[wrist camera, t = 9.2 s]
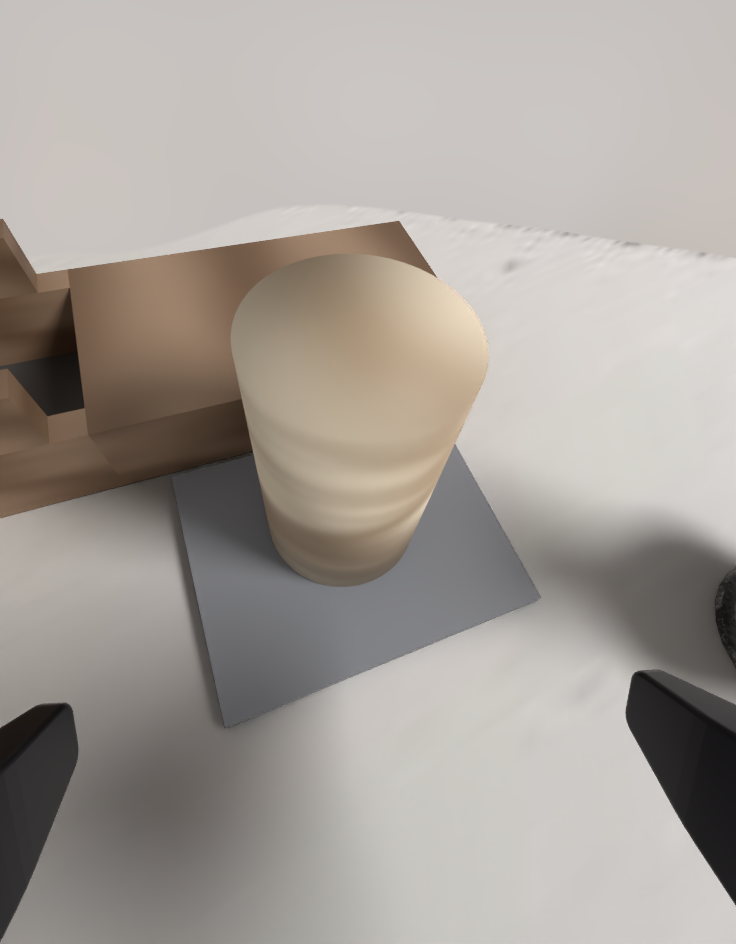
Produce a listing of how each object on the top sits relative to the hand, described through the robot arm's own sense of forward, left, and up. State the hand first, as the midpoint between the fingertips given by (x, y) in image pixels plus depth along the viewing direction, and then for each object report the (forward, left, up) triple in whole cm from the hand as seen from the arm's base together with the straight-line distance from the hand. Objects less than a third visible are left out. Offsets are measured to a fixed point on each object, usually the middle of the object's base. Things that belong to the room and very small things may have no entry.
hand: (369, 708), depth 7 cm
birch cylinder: (+4, +5, -6) cm, 9 cm away
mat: (+3, +4, -6) cm, 8 cm away
